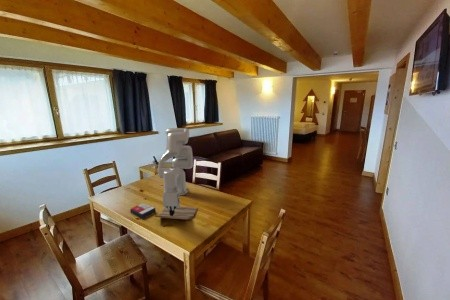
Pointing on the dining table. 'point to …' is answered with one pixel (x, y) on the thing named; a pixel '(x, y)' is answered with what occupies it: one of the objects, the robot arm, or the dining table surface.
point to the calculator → (143, 210)
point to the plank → (173, 217)
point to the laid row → (181, 211)
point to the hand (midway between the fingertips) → (172, 214)
